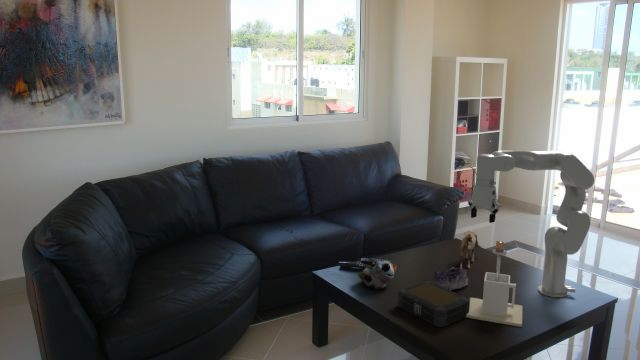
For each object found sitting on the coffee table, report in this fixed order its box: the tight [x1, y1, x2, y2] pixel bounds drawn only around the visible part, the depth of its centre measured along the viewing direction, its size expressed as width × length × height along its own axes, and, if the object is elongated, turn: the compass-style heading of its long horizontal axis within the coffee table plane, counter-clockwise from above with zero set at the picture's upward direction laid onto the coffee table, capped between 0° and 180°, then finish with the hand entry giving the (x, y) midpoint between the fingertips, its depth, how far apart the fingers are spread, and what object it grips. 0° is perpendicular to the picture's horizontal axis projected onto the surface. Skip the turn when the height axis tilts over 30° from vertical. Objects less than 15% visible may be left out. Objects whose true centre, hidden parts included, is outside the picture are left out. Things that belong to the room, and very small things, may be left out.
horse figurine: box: [459, 230, 482, 270], centre depth 272 cm, size 31×8×21 cm, turn 152°
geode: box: [431, 266, 469, 291], centre depth 244 cm, size 20×12×10 cm, turn 124°
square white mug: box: [465, 271, 523, 328], centre depth 217 cm, size 22×18×16 cm
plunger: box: [492, 240, 508, 282], centre depth 214 cm, size 8×8×21 cm
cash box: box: [397, 280, 470, 328], centre depth 220 cm, size 25×20×8 cm
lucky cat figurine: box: [357, 260, 398, 290], centre depth 246 cm, size 17×14×16 cm
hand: (482, 219), depth 226 cm, fingers open, 9 cm apart
